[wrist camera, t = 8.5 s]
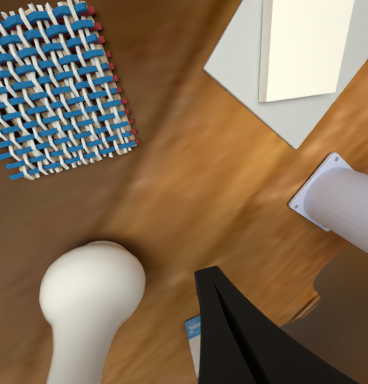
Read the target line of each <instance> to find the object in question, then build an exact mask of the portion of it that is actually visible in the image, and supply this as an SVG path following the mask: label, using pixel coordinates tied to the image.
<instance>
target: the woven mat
mask: <svg viewBox="0 0 368 384" xmlns="http://www.w3.org/2000/svg"><path fill="white" fill-rule="evenodd" d="M74 1H75V3H76V5H73V4H72V1H71V0H67V2H68V3H66V2H62V1H61V2H58V3H57V4H58V7H56V8H55V9H54V10H53V8H52V7H51V6H50V5H49V4H48V2H47V4H46V5H45V6H46V9H45V10H46V11H44V10H43V8H42V5H37V7H38V10H39V11H36V10H35V8H34V6H33V4H28V6H29V9H28V10H26V11H24V10H23V9H22V8H20V9H19V13H20V15H15V13H14V12H13V11H11V12H9V13H10V15H11V16H9V17H8V16H7V14H6V13H4V12H1V14H2V16H3V17H4V19H5V20H4V21H0V37H1V38H0V51H1V52H2V53H0V110H2V109H5V111H6V112H7V114H6V115H3V116H1V113H0V137H1V138H3V139H4V140H5V141H3V142H0V148H2V147H6V146H9V150H10V152H6V153H3V154H0V160H2V159H6V158H9V157H14V158H15V159H17V160H18V161H15V162H12V163H9V164H6V167H7V168H8V169H11V168H16V167H19V170H20V171H18V172H16V174H13V175H10V176H9V177H10V178H11V180H14V179H17V178H20V177H23V176H24V177H25V178H27V179H29V180H34V179H35V178H39V177H40V176H39V172H42V173H44V174H45V175H49V174H48V173H47V172H46V171H47V170H49V171H50V172H51V173H52V172H53V170H55V171H56V172H57V173H58V172H60V171H63V169H62V166H63V167H64V168H65V169H66V170H67V169H69V167H68V166H67V165H66V164H69V163H70V164H72V166H73V168H75V167H77V166H76V163H75V162H77V163H78V165H81V164H82V163H83V164H87V163H88V162H90V161H91V163H93V162H94V160H96V161H100V160H101V159H102V158H101V156H100V154H103V156H106V153H109V157H113V156H112V152H113V151H115V150H116V151H117V153H118V155H121V154H124V153H128V151H127V148H128V150H129V151H130V150H131V148H130V147H133V146H136V145H137V143H139V140H138V138H137V139H135V137H134V134H136V131H135V129H134V130H132V128H131V126H130V124H132V123H135V121H134V119H129V120H128V117H127V114H129V111H128V109H126V110H125V109H124V106H123V104H126V103H127V100H126V98H124V99H121V98H120V95H119V93H123V92H122V89H121V88H117V86H116V83H115V81H118V78H117V76H113V75H112V72H111V70H113V69H114V66H113V63H110V64H109V62H108V58H110V57H112V56H111V53H110V51H107V52H105V50H104V48H103V45H102V44H103V43H105V40H104V37H103V36H101V37H99V35H98V32H97V31H98V30H102V27H101V24H100V23H94V20H93V18H92V15H95V14H96V13H95V10H94V7H93V6H90V7H87V5H86V3H85V1H81V2H79V0H74ZM80 19H81V20H80ZM60 23H64V24H66V25H60ZM49 24H51V27H50V25H49ZM44 25H46V28H47V29H46V30H45V29H44V27H43V26H44ZM33 28H34V30H33ZM26 29H29V30H28V31H27V30H26ZM8 33H11V35H9V34H8ZM84 33H86V37H84ZM69 36H71V37H72V38H71V39H69V40H68V41H67V38H66V37H69ZM50 40H52V42H53V43H50ZM39 43H41V45H42V47H40V45H39ZM35 45H36V47H34V46H35ZM89 47H91V50H90V48H89ZM18 48H19V50H20V51H17V49H18ZM5 50H8V52H9V53H6V51H5ZM75 51H77V55H73V54H72V53H73V52H75ZM57 56H59V58H60V59H58V58H57ZM46 57H47V58H48V60H47V58H46ZM40 58H42V59H43V60H44V61H41V59H40ZM30 60H31V61H32V63H33V64H31V62H30ZM24 61H25V62H26V64H27V65H25V64H24ZM80 63H81V64H82V66H83V67H82V68H80V69H78V66H77V64H80ZM13 64H15V66H16V67H17V68H15V69H14V68H13ZM7 65H8V66H7ZM62 67H64V69H65V71H66V72H64V71H63V69H62ZM68 67H69V68H68ZM69 69H70V70H69ZM52 70H53V71H54V73H55V75H53V72H52ZM46 71H49V76H48V74H47V72H46ZM36 73H38V75H39V78H38V79H36ZM100 75H101V76H100ZM83 76H87V79H88V81H83V78H82V77H83ZM19 77H20V78H19ZM15 79H16V80H17V81H18V82H16V80H15ZM73 79H74V81H75V83H76V84H74V83H73ZM68 80H69V81H68ZM3 82H5V85H6V86H3V84H2V83H3ZM69 83H70V84H69ZM53 84H55V86H56V87H57V88H54V86H53ZM43 86H44V87H45V89H46V91H43V89H42V88H41V87H43ZM102 87H103V88H105V89H106V90H104V91H103V89H102ZM87 88H91V89H92V90H93V93H91V94H89V93H88V90H87ZM39 91H40V92H39ZM78 91H79V92H80V95H81V96H79V94H78ZM22 92H23V93H22ZM8 94H12V95H13V96H14V98H11V99H8ZM28 94H29V96H28ZM74 94H75V95H76V97H75V95H74ZM59 96H60V98H61V101H60V99H59ZM64 97H65V98H64ZM105 97H109V99H108V100H106V98H105ZM47 98H50V99H51V101H52V103H51V104H49V101H48V99H47ZM65 99H66V100H65ZM92 100H96V101H97V104H98V105H93V102H92ZM34 101H35V103H36V105H37V107H36V106H35V105H34V103H33V102H34ZM83 102H84V104H85V106H86V108H84V105H83ZM79 104H80V105H79ZM14 106H18V107H19V112H17V111H16V110H15V109H14ZM30 106H31V107H32V108H30ZM68 106H70V107H71V109H72V111H71V109H70V108H69V107H68ZM64 107H65V108H66V109H67V111H68V112H66V113H65V108H64ZM53 110H55V113H56V114H55V113H54V111H53ZM98 110H100V111H101V113H102V115H103V116H99V117H98V115H97V112H96V111H98ZM40 113H41V114H42V116H43V118H44V119H41V117H40ZM87 113H88V115H89V117H88V115H87ZM34 115H36V117H35V116H34ZM21 118H23V119H24V120H25V121H26V123H23V122H22V121H21ZM68 118H71V121H72V123H71V122H70V121H69V119H68ZM75 118H76V120H77V122H76V121H75ZM85 118H86V119H87V120H86V119H85ZM10 120H11V121H12V122H13V124H14V125H15V126H12V127H10V126H9V125H8V124H7V123H6V121H10ZM104 120H105V124H106V126H102V124H101V122H100V121H104ZM117 121H118V122H117ZM59 122H60V123H61V125H62V126H60V123H59ZM44 124H47V125H48V127H49V129H48V128H47V127H46V126H45V125H44ZM88 125H89V126H88ZM78 127H80V129H81V131H82V132H81V131H80V129H79V128H78ZM93 127H94V129H93ZM29 128H32V129H33V132H34V134H30V133H29V132H28V131H27V129H29ZM42 128H43V129H44V130H45V131H43V129H42ZM74 128H75V129H76V130H77V132H78V133H77V134H76V132H75V130H74ZM89 128H90V129H89ZM120 128H121V131H122V133H121V132H120ZM17 131H18V132H19V134H20V135H21V137H18V138H15V135H14V132H17ZM64 131H67V133H68V135H69V136H67V135H66V134H65V132H64ZM105 131H109V133H110V135H111V136H108V137H106V135H105ZM51 134H52V135H53V137H54V138H55V139H54V140H52V135H51ZM96 134H98V136H99V138H100V139H98V137H97V135H96ZM47 136H48V138H47ZM84 138H85V139H84ZM94 138H95V140H94ZM123 138H124V139H125V142H124V140H123ZM127 138H128V139H127ZM33 139H37V140H38V141H39V142H40V143H39V144H36V145H35V143H34V140H33ZM48 139H49V140H48ZM79 139H81V141H82V144H81V142H80V140H79ZM85 140H86V142H85ZM71 141H72V143H73V145H74V146H73V145H72V143H71ZM109 141H113V143H114V145H112V146H110V145H109V143H108V142H109ZM21 142H22V146H23V147H22V146H21V145H20V144H19V143H21ZM66 142H67V144H68V146H69V147H67V146H66ZM101 143H102V144H101ZM56 144H57V146H56ZM97 145H98V146H99V148H100V149H97ZM102 145H103V147H104V148H103V147H102ZM43 148H44V150H45V154H42V153H41V152H40V151H39V150H38V149H43ZM53 148H54V149H53ZM84 149H85V150H84ZM76 151H77V153H78V155H77V153H76ZM85 151H86V152H85ZM70 152H72V153H73V155H74V156H72V155H71V153H70ZM27 154H28V155H30V156H31V157H30V158H28V156H27ZM58 156H59V157H58ZM47 158H48V159H49V160H50V161H51V162H52V163H48V161H47ZM63 158H64V159H63ZM89 159H90V161H89ZM80 160H81V161H82V163H81V161H80ZM32 162H37V163H38V166H37V167H35V166H34V165H33V164H31V163H32ZM52 169H53V170H52Z"/></svg>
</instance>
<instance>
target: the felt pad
mask: <svg viewBox="0 0 368 384" xmlns="http://www.w3.org/2000/svg"><path fill="white" fill-rule="evenodd" d="M263 1H264V0H242V1H241V3H240V5H239V7H238V8H237V10H236V12H235V14H234V15H233V17H232V19H231V21H230V22H229V24H228V26H227V27H226V29H225V31H224V33H223V34H222V36H221V38H220V40H219V41H218V43H217V45H216V47H215V48H214V50H213V52H212V54H211V55H210V57H209V59H208V61H207V62H206V64H205V66H204V68H203V70H204V71H205V72H206V73H207V74H208V75H209V76H211V77H212V78H213V79H214V80H215V81H216V82H218V83H219V84H220V85H221V86H222V87H223V88H224V89H226V90H227V91H228V92H229V93H230V94H231V95H232V96H234V97H235V98H236V99H237V100H238V101H239V102H240V103H242V104H243V105H244V106H245V107H246V108H247V109H248V110H250V111H251V112H252V113H253V114H254V115H255V116H256V117H258V118H259V119H260V120H261V121H262V122H263V123H265V124H266V125H267V126H268V127H269V128H270V129H271V130H273V131H274V132H275V133H276V134H277V135H278V136H279V137H281V138H282V139H283V140H284V141H285V142H286V143H287V144H289V145H290V146H291V147H292V148H293V149H296V150H297V148H298V147H299V146H300V144H301V143H302V142H303V141H304V139H305V138H306V137H307V136H308V134H309V133H310V132H311V130H312V129H313V128H314V127H315V125H316V124H317V123H318V121H319V120H320V119H321V118H322V116H323V115H324V114H325V112H326V111H327V110H328V109H329V107H330V106H331V105H332V103H333V102H334V101H335V100H336V98H337V97H338V96H339V95H340V93H341V92H342V91H343V89H344V88H345V87H346V86H347V84H348V83H349V82H350V80H351V79H352V78H353V77H354V75H355V74H356V73H357V71H358V70H359V69H360V68H361V66H362V65H363V64H364V62H365V61H366V60H367V59H368V0H354V5H353V10H352V14H351V19H350V24H349V29H348V34H347V39H346V43H345V48H344V53H343V58H342V63H341V68H340V72H339V77H338V82H337V87H336V92H333V93H326V94H319V95H312V96H305V97H298V98H291V99H284V100H277V101H269V102H258V101H259V81H260V61H261V41H262V21H263Z"/></svg>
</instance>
